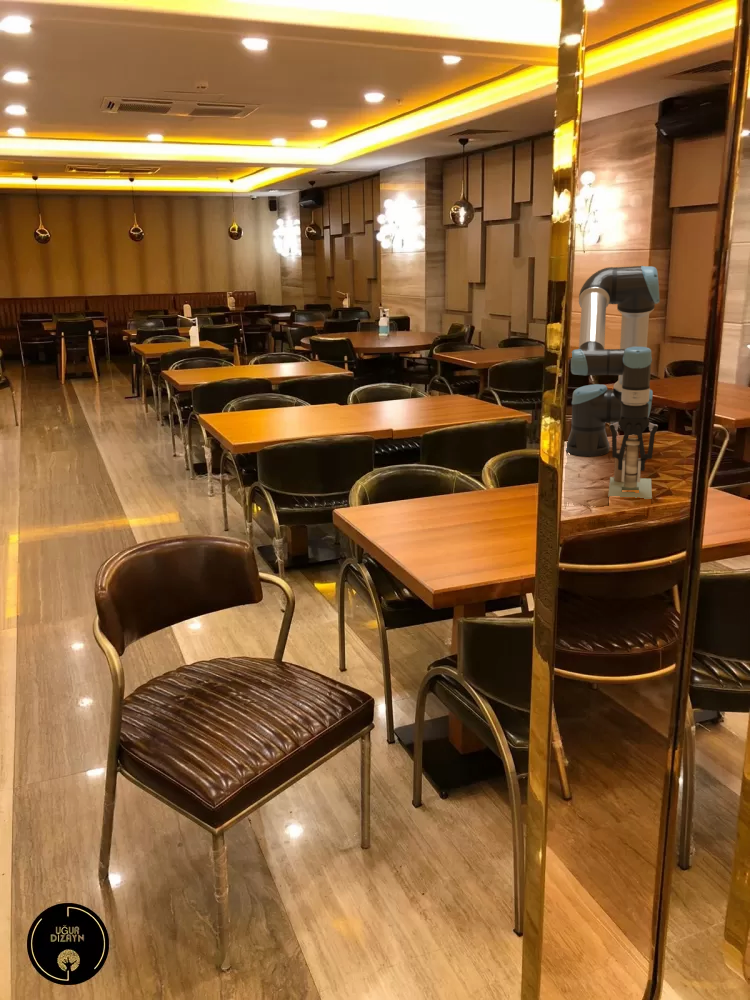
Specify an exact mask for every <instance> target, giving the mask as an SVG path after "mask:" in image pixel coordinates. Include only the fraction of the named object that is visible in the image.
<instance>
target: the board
mask: <svg viewBox="0 0 750 1000" xmlns="http://www.w3.org/2000/svg"><path fill="white" fill-rule="evenodd" d="M617 453H620V449H617ZM625 457H626V449H625V452H624V456H623V458H625ZM613 471H614V472H613V476H610V477H609V484H608V485H609V486H608V495H607V497H609V496H620V497H635V498H637V497H640V498H644V499H652V500H653V496H652V495H653V494H652V491H653V490H652V478H646V477H645V478H642V477H640V482H637V487H634V488H628V487H625V486H624V482H622V470H619V469H618V459H617V458H614V470H613ZM622 490H639V493H635V492H622Z"/></svg>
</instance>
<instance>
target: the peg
mask: <svg viewBox="0 0 750 1000" xmlns="http://www.w3.org/2000/svg"><path fill="white" fill-rule="evenodd" d="M639 445H640V441H638V437H637V438H636V437H628V440H627V441H626V448H625V450H626V457H625V476H624V486H625V487H628V488H634V487H637V474H638V458H639V455H640V449H639Z"/></svg>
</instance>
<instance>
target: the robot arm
mask: <svg viewBox="0 0 750 1000" xmlns="http://www.w3.org/2000/svg"><path fill="white" fill-rule="evenodd" d="M659 303H660V285H659V273H658V269H657V268H656V267H655V266H652V265H651V266H646V265H645V266H644V265H637V266H635V265H634V266H617V267H615V266H614V267H613V266H611V267H609V266H608V267H604V268H602V269H599V270H597V271H595V272H594V273H592V274H591V276H589V277H588V278H587V280H585V282H584V283H583V284H582V286H581V289H580V290H579V294H578V304H579V306H580V309H581V311H580V321H579V322H580V323H579V325H580V326H579V339H578V342H579V343H578V348H577V349H573V350H572V351H571V353H572V358H571V357H570V372H571V374H572V375H575V376H576V375H578V376H583V377H584V376H618V378H617V379H618V380H617V381H616V382H615V383H614V384H613V389H608V387H607V385H605V384H599V383H595V384H588V385H583V386H580V387H578V388H576V389H575V390H573V392H572V400H571V427H570V428H571V430H570V433H569V434H568V435H569V436H568V437H567V440H568V442H567V441H566V443H567V450H566V449H565V451H566V453H568V454H571V455H573V456H579V457H598V456H603V455H606V454H608V453H609V452H610V443H609V439H608V436H607V432H606V424H609V429H610V432H611V451H612V452H611V454H612V455H611V457H612V458H614V459H615V458H617V459H618V469H619V470H622V482H624V476H625V458H623V456H624V452H625V450H626V441H627V440H628V438H630V436H633V435H634V436H637V438H638V441H640V445H639V455H640V458H639V457H638V474H637V482H640V478H641V472H644V471H645V469H646V461H647V460H651V459H652V458H653V454H654V453H653V452H654V443H655V437H656V436H655V435H656V433H657V431H658V428H659V425H658V424H656V423H652V422H650V419H649V417H650V414H651V410H652V403H653V402H652V401H653V397H654V396H653V395H654V394H653V393H654V392H653V390H652V389H651V385H650V384H651V383H650V382H651V374H652V373H651V371H652V369H651V368H652V363H653V362H652V361H653V359H652V349H651V348H650V347H648V337H649V336H648V335H649V334H648V333H649V321H650V314H651V313H652V312H653V311H654V310H655V307H656V306H655V305H657V304H659ZM609 305H617V306H616V307H617V308H616V310H617V311H618V312H619V313H620V314H621V322H620V323H621V325H620V343H619V348H614V349H613V348H608V349H606V348H605V340H606V318H607V317H606V315H607V307H608V306H609ZM619 427H620V428H621V430H622V431H623V438H622V442H621V446H620V448H619V450H620V453H617V450H618V446H617V438H618V437H617V434H618V433H617V431H618V430H619ZM647 428H648V431H649V432H650V433H649V439H648V441H649V442H648V448H647V453H646V452H645V445H644V440H643V439H644V436H643V433H644V431H645V430H647Z"/></svg>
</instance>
